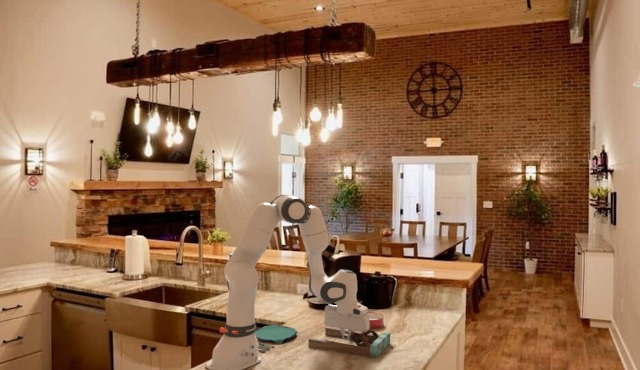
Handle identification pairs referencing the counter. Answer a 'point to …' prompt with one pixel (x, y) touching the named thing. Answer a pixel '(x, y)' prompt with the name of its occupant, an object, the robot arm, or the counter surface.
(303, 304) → the counter surface
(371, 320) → the frying pan
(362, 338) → the dark brown looped piece
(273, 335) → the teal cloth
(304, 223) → the robot arm
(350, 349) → the guide
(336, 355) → the counter surface
